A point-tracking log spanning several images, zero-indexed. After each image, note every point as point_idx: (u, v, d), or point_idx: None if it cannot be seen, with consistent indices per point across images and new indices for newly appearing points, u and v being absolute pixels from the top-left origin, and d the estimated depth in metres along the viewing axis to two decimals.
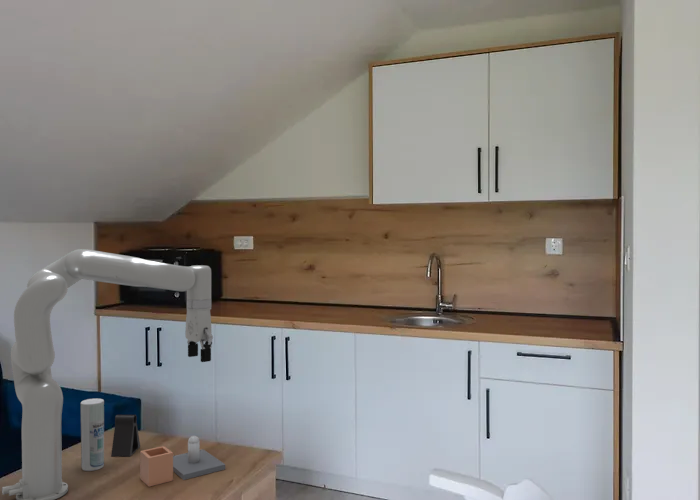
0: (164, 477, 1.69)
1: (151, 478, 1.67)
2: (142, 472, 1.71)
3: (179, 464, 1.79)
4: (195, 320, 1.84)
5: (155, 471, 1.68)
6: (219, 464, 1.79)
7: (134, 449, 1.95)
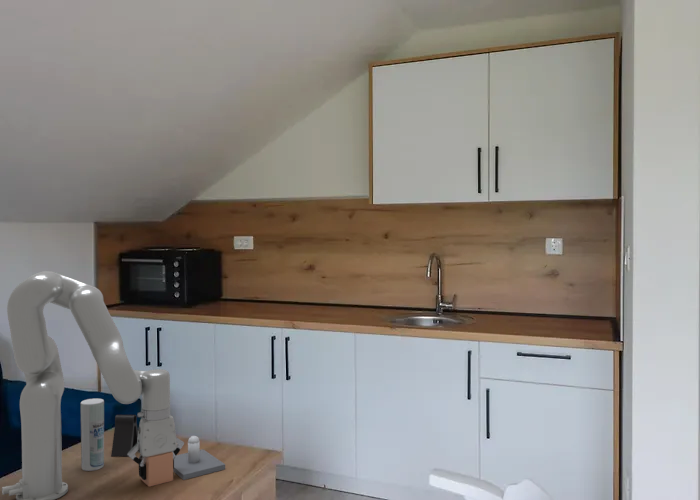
0: (164, 477, 1.69)
1: (151, 478, 1.67)
2: None
3: (179, 464, 1.79)
4: (171, 428, 1.71)
5: (155, 471, 1.68)
6: (219, 464, 1.79)
7: None
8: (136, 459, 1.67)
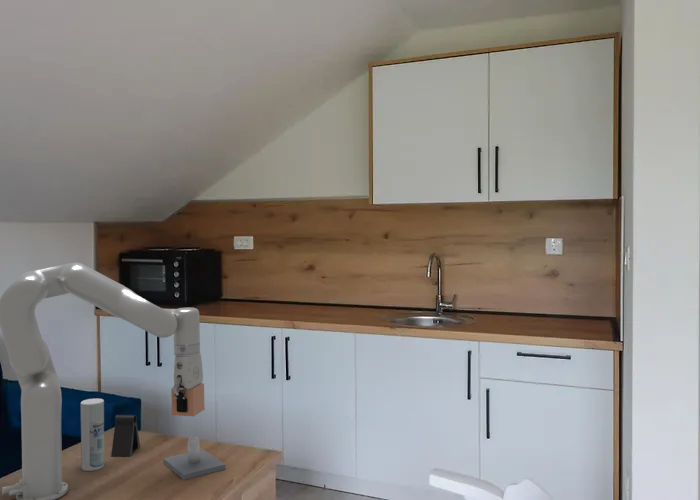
0: (200, 407, 1.80)
1: (194, 408, 1.76)
2: None
3: (179, 464, 1.79)
4: (200, 361, 1.82)
5: (196, 401, 1.77)
6: (219, 464, 1.79)
7: (134, 449, 1.95)
8: (181, 393, 1.73)
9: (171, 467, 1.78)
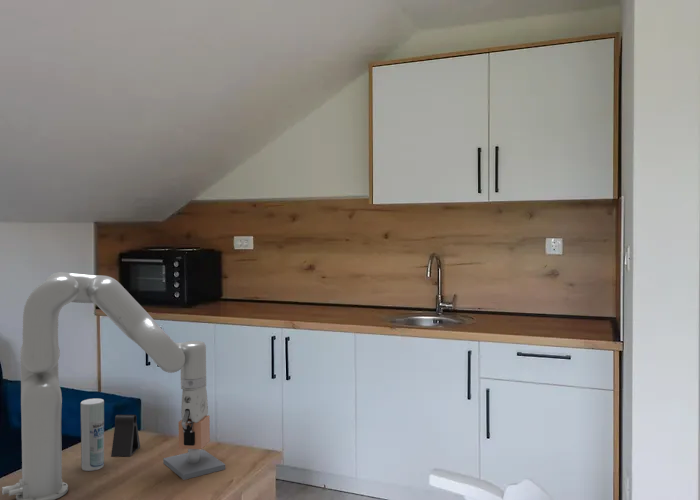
0: (206, 439, 1.82)
1: (202, 441, 1.78)
2: None
3: (179, 464, 1.79)
4: (206, 394, 1.84)
5: (203, 434, 1.79)
6: (219, 464, 1.79)
7: (134, 449, 1.95)
8: (189, 426, 1.75)
9: (171, 467, 1.78)
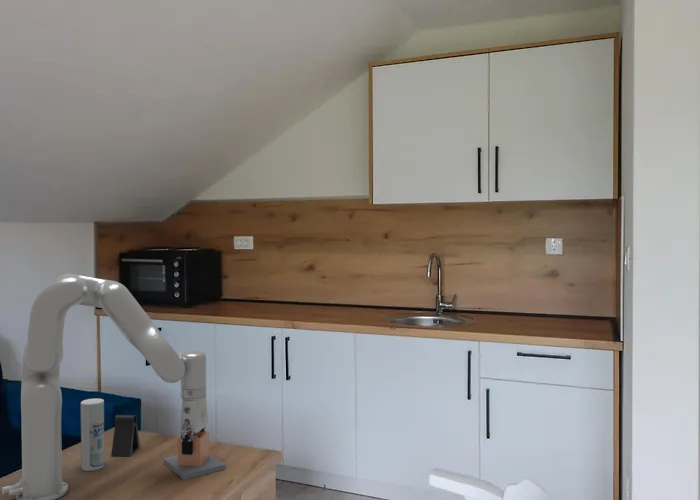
0: (205, 455, 1.82)
1: (201, 458, 1.78)
2: (183, 457, 1.78)
3: None
4: (205, 404, 1.84)
5: (202, 451, 1.80)
6: (219, 464, 1.79)
7: (134, 449, 1.95)
8: (187, 436, 1.74)
9: (171, 467, 1.78)
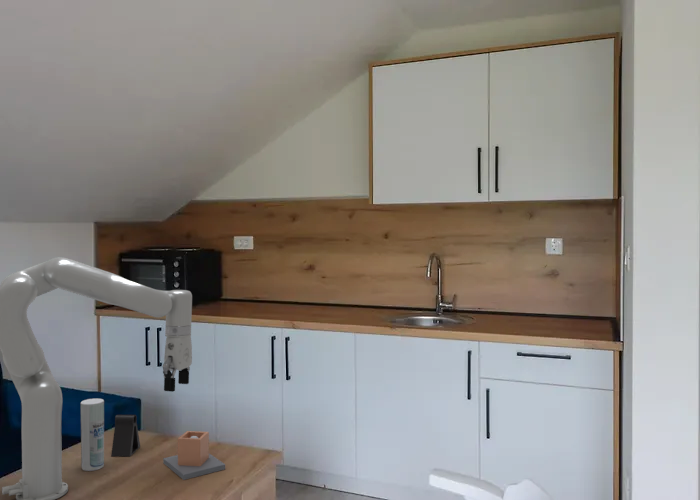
0: (205, 455, 1.82)
1: (201, 458, 1.78)
2: (183, 457, 1.78)
3: None
4: (190, 344, 1.84)
5: (202, 451, 1.80)
6: (219, 464, 1.79)
7: (134, 449, 1.95)
8: (169, 371, 1.74)
9: (171, 467, 1.78)
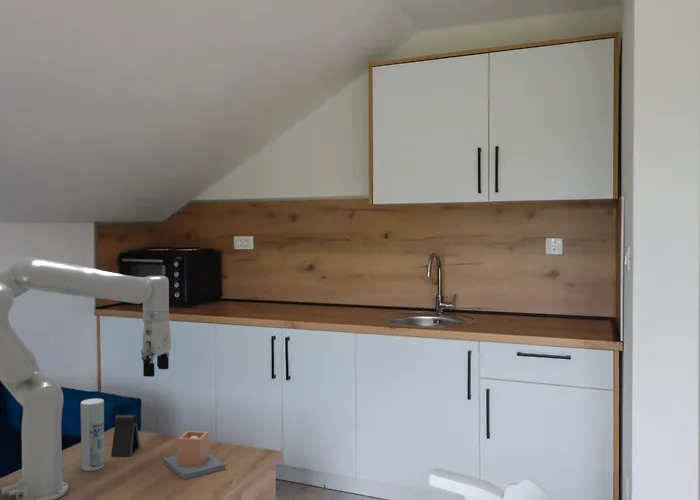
0: (205, 455, 1.82)
1: (201, 458, 1.78)
2: (183, 457, 1.78)
3: None
4: (168, 329, 1.85)
5: (202, 451, 1.80)
6: (219, 464, 1.79)
7: (134, 449, 1.95)
8: (148, 357, 1.75)
9: (171, 467, 1.78)
